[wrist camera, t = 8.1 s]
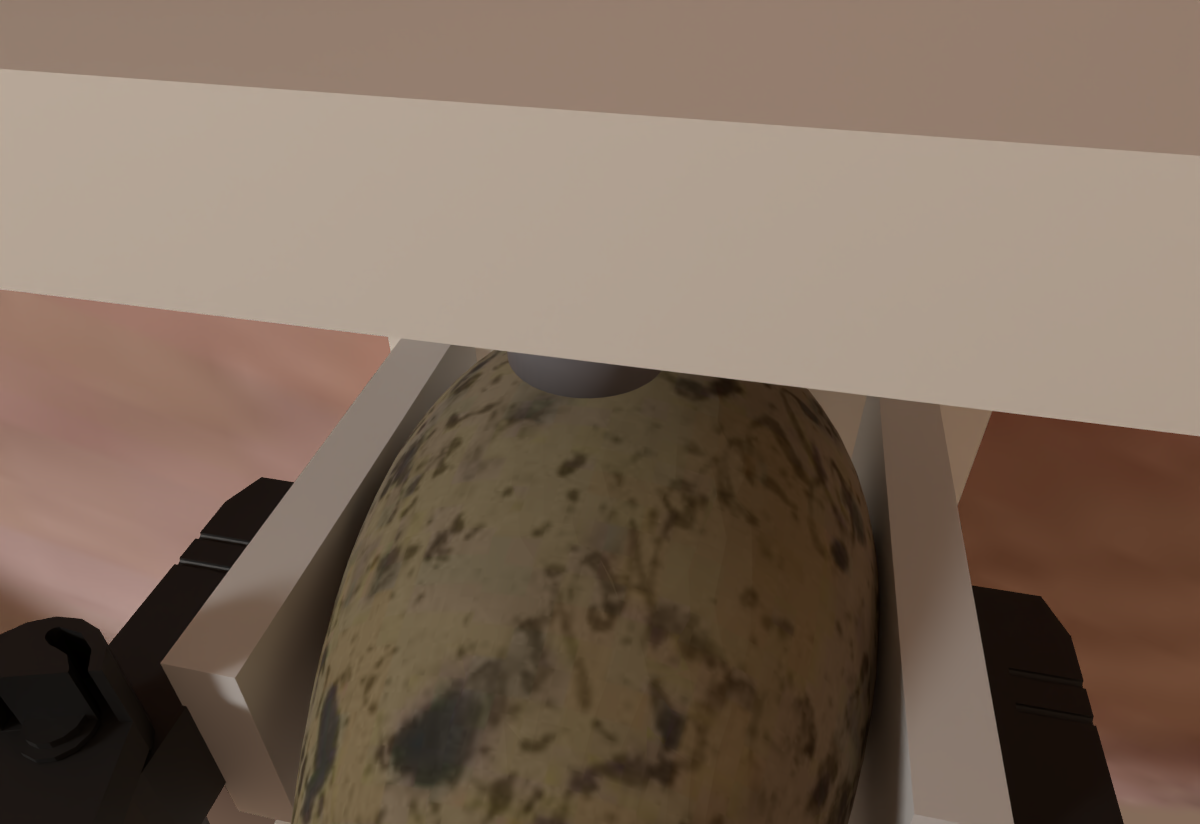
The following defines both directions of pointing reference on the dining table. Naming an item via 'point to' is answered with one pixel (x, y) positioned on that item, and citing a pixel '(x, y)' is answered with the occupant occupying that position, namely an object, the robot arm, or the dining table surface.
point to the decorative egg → (602, 615)
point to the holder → (642, 188)
